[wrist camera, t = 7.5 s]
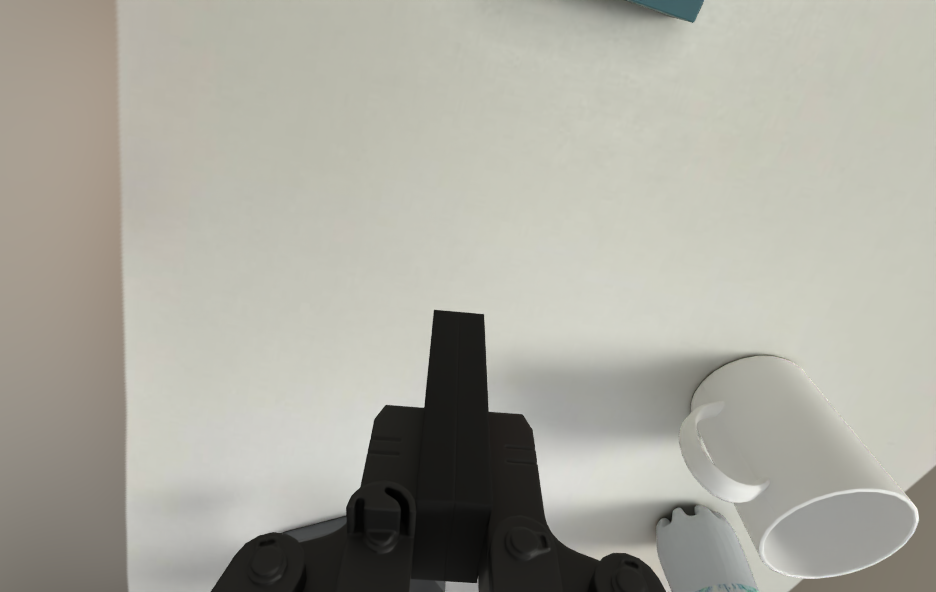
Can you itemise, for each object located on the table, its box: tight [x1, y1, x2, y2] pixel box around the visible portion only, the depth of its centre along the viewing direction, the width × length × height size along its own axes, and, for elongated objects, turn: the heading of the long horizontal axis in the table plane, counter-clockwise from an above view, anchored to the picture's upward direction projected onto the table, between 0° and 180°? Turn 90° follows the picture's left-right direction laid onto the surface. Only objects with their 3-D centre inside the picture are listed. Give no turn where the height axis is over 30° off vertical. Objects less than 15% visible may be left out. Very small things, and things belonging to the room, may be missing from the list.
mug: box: [679, 356, 919, 578], centre depth 31 cm, size 12×8×10 cm, turn 66°
